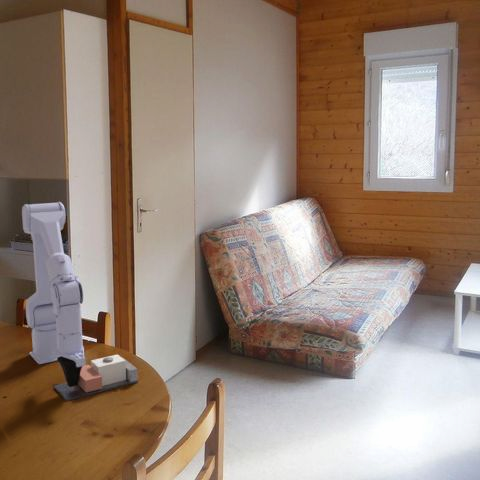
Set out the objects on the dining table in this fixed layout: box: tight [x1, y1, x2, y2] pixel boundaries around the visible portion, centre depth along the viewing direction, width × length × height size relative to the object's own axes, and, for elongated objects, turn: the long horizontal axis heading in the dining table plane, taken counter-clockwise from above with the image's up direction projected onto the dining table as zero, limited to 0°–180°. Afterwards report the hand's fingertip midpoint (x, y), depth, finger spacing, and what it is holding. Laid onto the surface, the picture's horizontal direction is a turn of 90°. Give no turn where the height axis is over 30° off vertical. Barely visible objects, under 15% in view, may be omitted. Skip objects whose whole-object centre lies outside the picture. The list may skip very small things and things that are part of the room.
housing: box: [90, 354, 126, 386], centre depth 146 cm, size 5×7×5 cm
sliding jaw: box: [78, 364, 102, 393], centre depth 143 cm, size 9×4×3 cm, turn 34°
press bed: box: [53, 357, 139, 402], centre depth 144 cm, size 9×18×4 cm, turn 124°
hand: (72, 385), depth 141 cm, fingers closed, pressing on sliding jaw
